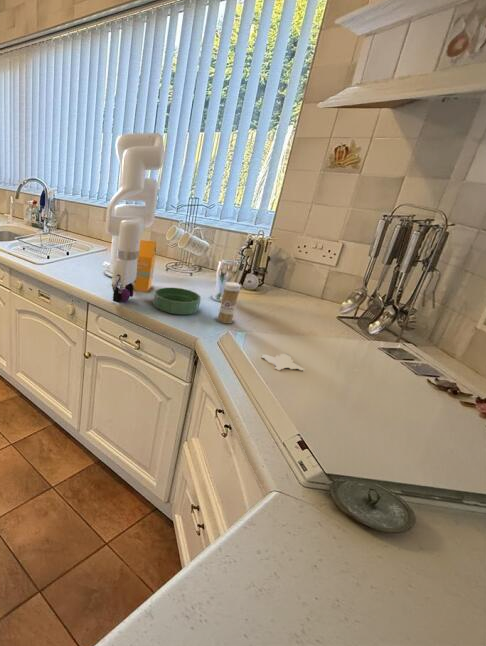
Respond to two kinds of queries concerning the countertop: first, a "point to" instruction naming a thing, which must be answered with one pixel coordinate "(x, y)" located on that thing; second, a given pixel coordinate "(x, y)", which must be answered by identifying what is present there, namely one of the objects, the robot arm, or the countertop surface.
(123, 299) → the ball
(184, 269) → the countertop surface
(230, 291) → the sprinkles bottle
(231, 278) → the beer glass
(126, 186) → the robot arm
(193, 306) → the bowl
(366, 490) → the lid
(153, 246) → the orange juice
